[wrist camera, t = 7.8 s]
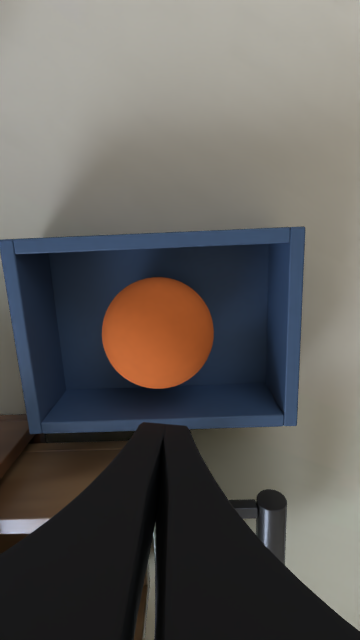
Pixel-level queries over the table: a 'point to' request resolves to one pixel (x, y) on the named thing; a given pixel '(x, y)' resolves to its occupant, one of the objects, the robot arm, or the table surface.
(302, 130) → the table surface
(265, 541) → the drawer
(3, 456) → the cabinet
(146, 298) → the ball
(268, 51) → the table surface
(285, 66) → the table surface
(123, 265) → the tray
